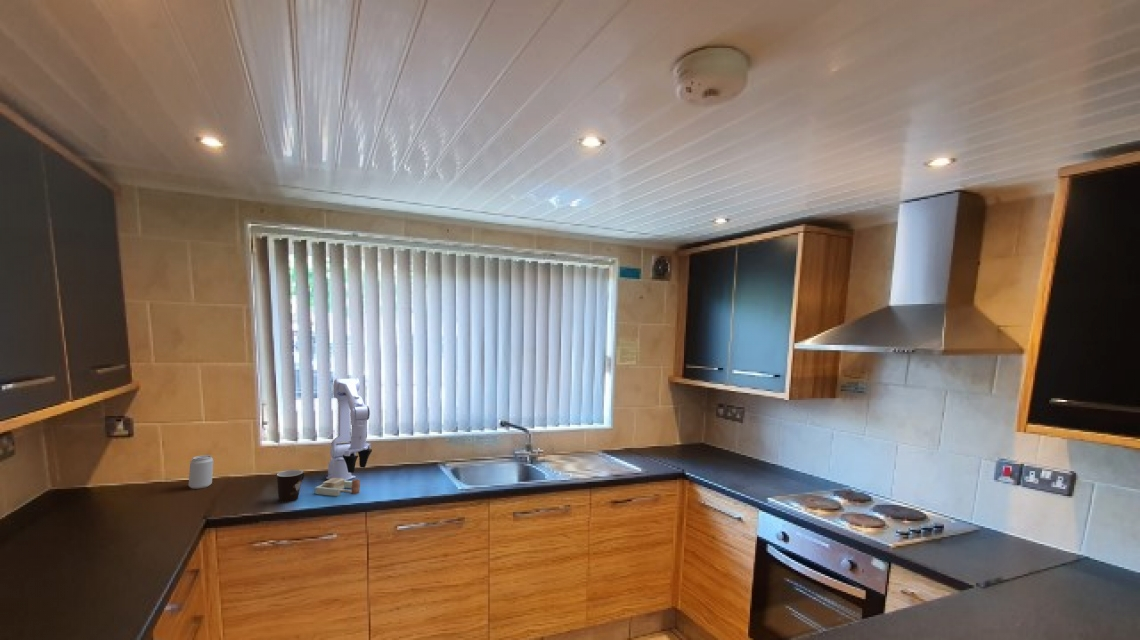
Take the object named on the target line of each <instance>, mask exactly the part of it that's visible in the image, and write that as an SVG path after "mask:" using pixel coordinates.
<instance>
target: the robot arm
mask: <svg viewBox="0 0 1140 640" xmlns="http://www.w3.org/2000/svg"><path fill="white" fill-rule="evenodd" d="M332 385H333V388H332V392H333V393H332V395H333V398H334V399H337V406H338V407H337V409H338V410H337V412H338V413H337V415H338V416H337V418H338V419H337V424H338V425H337V428H338V429H337V430H338V431H337V437H335V438H334V439H332V440H331V443H330V457H331V459H330V460H329V462H328V468H327V469H328V470H327V476H326V478H325V479H327V480H330V479H332V478H341V479H345V481H350V480H353V479H356V477H357V476H355V475H352V474H353V473H355V469H356V462H357V459H358V458H359V460H358V461H359V463H358V464H359V468H366V466H367V463H368V460H369V458H370V455H371V453H372V451H373V448H372V447H371V446H372V444H371V443H370V442H369V443H368V442H367V432H368V431H367V430H368V421H369V419H370V414H371V413H370V412H371V411H370V407H369V405H367V404H365V402H364V399H363V398H362V396H361V395H359V394H358V391H359V390H360V380H359V378H358V377H355V378H335V379H334V380H333V384H332ZM350 427H351V429H350ZM357 453H358V454H357Z"/></svg>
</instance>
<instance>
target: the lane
mask: <svg viewBox="0 0 1140 640" xmlns="http://www.w3.org/2000/svg"><path fill="white" fill-rule="evenodd" d="M345 488H346V489H352V480H346V481H345V480H344V489H345ZM314 490H315V491H314V494H315V495H324V496H333V497H339V496H341V492H340V489H336V488H327V487H323V483H322V484H320V485H318V486H315V489H314Z"/></svg>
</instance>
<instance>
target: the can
mask: <svg viewBox="0 0 1140 640" xmlns="http://www.w3.org/2000/svg"><path fill="white" fill-rule="evenodd" d="M213 472H214V458H213V457H212V455H208V454H207V455H206V454H205V455H197V456H196V455H195V456H194V457H192V460H190V462H189V475H188V487H189V488H190V489H192V490H195V489H196V490H197V489H198V490H199V489H205V488H207V487H209V486H210V485H211V484H212V483H213Z"/></svg>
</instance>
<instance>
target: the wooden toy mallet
mask: <svg viewBox="0 0 1140 640" xmlns="http://www.w3.org/2000/svg"><path fill="white" fill-rule="evenodd" d="M344 480H345V479H341V478H332V479H327V480H326V481H323V482H322V484H323V487H327V488H336V489H340V493H341V492H342V493H351V494H352V495H358V494H360V492H361V479H359V478H353V479H351V481H352V488H351V489H345V488H344Z"/></svg>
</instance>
